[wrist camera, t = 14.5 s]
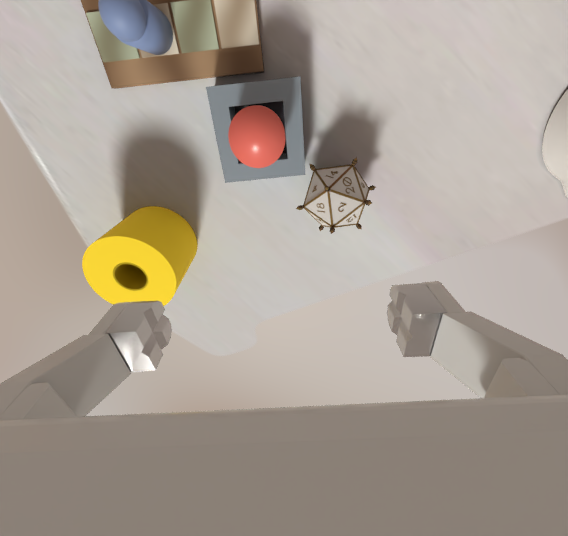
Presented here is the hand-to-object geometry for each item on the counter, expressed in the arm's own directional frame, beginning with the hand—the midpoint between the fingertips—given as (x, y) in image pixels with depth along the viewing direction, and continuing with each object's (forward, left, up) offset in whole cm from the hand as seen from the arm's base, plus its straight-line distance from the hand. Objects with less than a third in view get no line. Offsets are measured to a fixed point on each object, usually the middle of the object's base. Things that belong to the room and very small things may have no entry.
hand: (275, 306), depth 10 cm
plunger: (+2, -4, -27) cm, 27 cm away
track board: (+9, -13, -28) cm, 32 cm away
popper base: (+2, -4, -28) cm, 28 cm away
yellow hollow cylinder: (+18, +9, -28) cm, 34 cm away
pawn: (+11, -13, -27) cm, 31 cm away
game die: (-6, +4, -28) cm, 29 cm away
